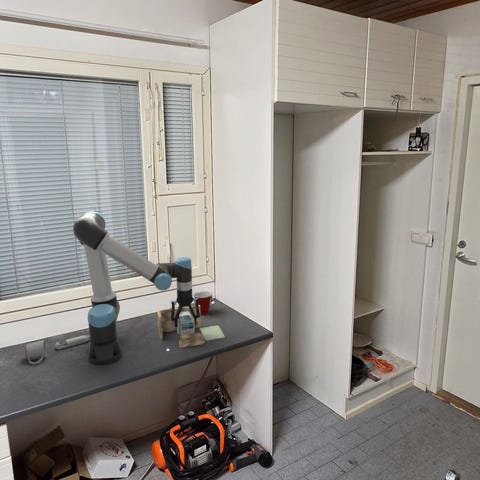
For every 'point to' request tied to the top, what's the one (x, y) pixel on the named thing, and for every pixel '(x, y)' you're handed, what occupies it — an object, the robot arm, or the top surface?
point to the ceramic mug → (35, 351)
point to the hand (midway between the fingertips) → (185, 331)
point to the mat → (212, 333)
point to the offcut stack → (191, 340)
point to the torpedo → (72, 342)
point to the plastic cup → (203, 301)
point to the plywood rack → (166, 322)
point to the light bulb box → (186, 323)
